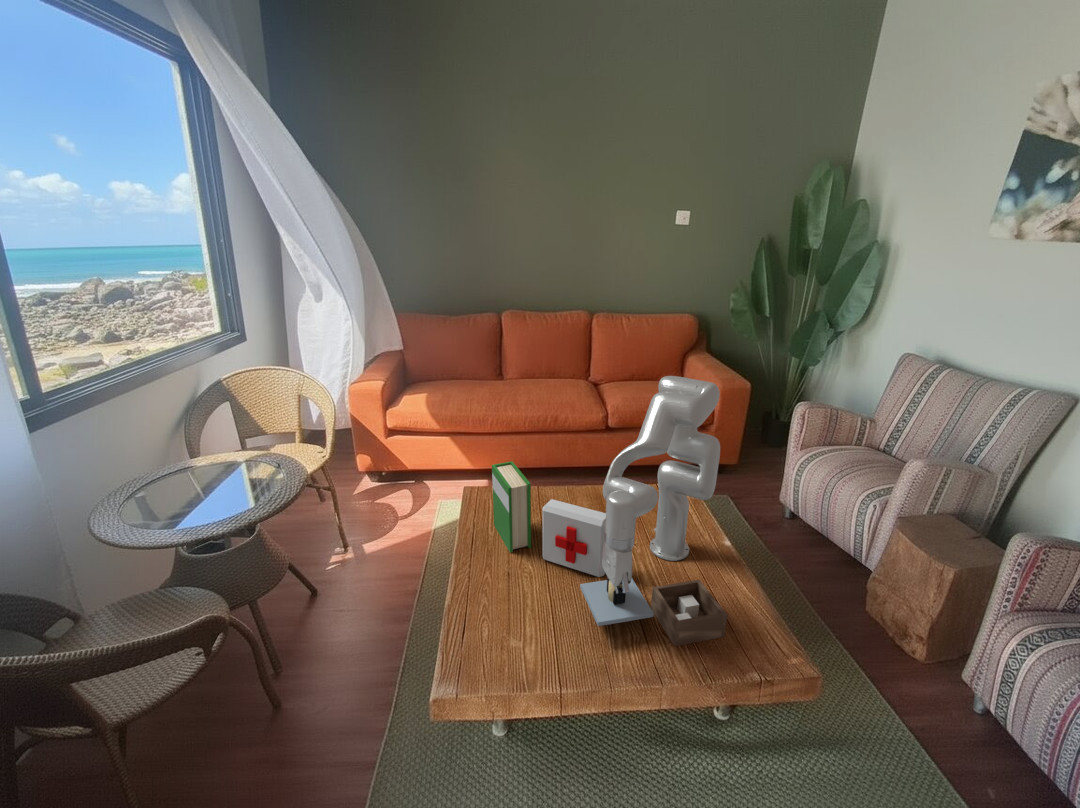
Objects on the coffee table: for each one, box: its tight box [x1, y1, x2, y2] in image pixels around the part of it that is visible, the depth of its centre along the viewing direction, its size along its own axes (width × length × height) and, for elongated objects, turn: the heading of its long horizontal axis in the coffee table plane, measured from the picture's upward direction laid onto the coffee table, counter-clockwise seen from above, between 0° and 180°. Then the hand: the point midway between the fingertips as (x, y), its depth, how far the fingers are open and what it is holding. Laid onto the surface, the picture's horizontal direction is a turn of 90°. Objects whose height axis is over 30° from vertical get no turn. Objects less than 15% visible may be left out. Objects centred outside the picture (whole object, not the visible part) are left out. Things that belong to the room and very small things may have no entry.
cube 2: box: [675, 613, 691, 620], centre depth 133 cm, size 4×4×4 cm
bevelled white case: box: [541, 498, 606, 578], centre depth 158 cm, size 21×8×20 cm, turn 62°
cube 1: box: [677, 595, 699, 618], centre depth 140 cm, size 4×4×4 cm
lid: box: [579, 578, 655, 627], centre depth 136 cm, size 15×15×6 cm
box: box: [650, 579, 728, 647], centre depth 136 cm, size 14×14×8 cm
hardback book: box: [491, 460, 532, 554], centre depth 173 cm, size 18×7×24 cm, turn 22°
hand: (615, 596), depth 137 cm, fingers closed on lid, 4 cm apart
